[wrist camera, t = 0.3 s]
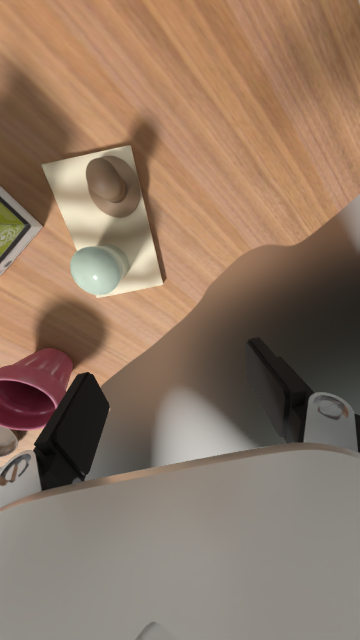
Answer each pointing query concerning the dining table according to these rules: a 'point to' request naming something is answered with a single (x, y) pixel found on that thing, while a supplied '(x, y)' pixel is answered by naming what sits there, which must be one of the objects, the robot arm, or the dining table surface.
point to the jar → (99, 268)
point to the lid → (113, 186)
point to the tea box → (14, 229)
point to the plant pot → (33, 389)
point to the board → (105, 219)
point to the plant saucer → (8, 441)
